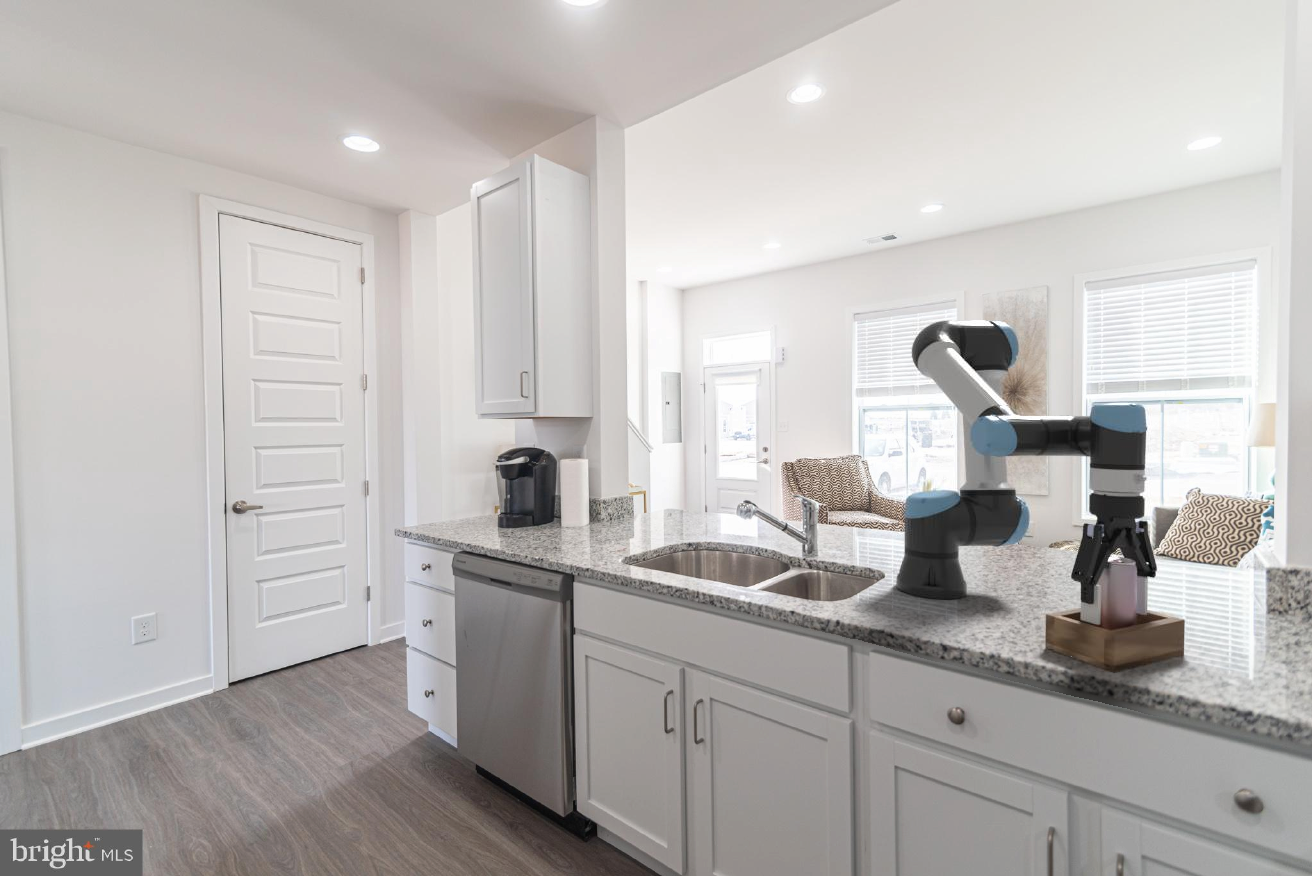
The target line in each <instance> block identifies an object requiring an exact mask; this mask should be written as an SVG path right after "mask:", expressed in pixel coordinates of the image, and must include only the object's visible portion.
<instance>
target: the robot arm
mask: <svg viewBox="0 0 1312 876" xmlns="http://www.w3.org/2000/svg"><path fill="white" fill-rule="evenodd" d="M1019 349H1020V346H1019V340H1018V337H1017V334H1016V332H1015V331H1014V329H1013V327H1011V326H1010V325H1009V324H1007V323H1006V322H1003V321H996V320H993V321H992V320H990V319H988V320H987V319H985V320H941V321H936V322H933V323H931V324H929V325H927V326H925V327H924V328H923V329H921V330H920V332H919V333H918V334H917V336H916V337H915V339H914V340H913V343H912V346H911V357H912V359H911V360H912V361H913V364H914V365H915V367H916V368H917V370H918V371H919V372H920V374H921V375H922V376H924V377H926V378H928V379H929V378H930V379H932V380H933V381H934V383H935V384H936V386H938V388H939V389H940V390H941V391H942V393H944V394H945V396H946V397H947V398H948V399H949V401H951V403H952V404H953V405H954V407H955V408H956V409H957V410H958V411H959V412H960V413H961V415H962V426H963V445H964V464H965V465H964V466H965V479H966V480H965V481H966V482H965V483H964V484H963V485H962V486H961V487H960V488H959V492H958V491H956V490H949V489H945V490H944V489H943V490H942V489H940V490H938V489H936V490H925V491H919V492H915V493H912V494H910V495H908V496H907V497H906V499H905V502H904V503H905V504H904V512H903V516H904V552H903V553H904V555H903V558H902V562H901V565H900V567H899V573H897V575H896V580H895V581H896V582H895V583H896V584H895V585H896V588H897V590H899V591H900V592H901V591H902V592H904V593H905V594H909V595H912V596H916V597H921V598H922V597H923V598H929V599H936V600H937V599H938V600H939V599H940V600H942V599H943V600H952V599H954V600H955V599H960V598H964V597H966V596H967V595H968V590H967V589H968V588H967V587H968V586H967V582H966V581H965V579H964V575H963V574H964V573H963V569H962V567H961V563H960V561H959V552H960V549H959V547H996V548H997V547H998V548H999V547H1002V546H1003V547H1004V546H1013V545H1016V544H1018V543H1019V542H1021V541H1022V539H1023V538H1024V537H1025V535H1026V533H1027V532H1028V530H1029V527H1030V509H1029V507H1028V506H1027V505H1026V504H1027V503H1026V501H1025V500H1024V498H1021V497H1019V496H1017V493H1016V492H1017V491H1016V490H1017V489H1016V487H1014V486H1013V485H1012V484H1010V483H1009V481H1008V470H1007V469H1008V468H1007V467H1008V466H1007V457H1023V456H1024V457H1027V456H1028V457H1029V456H1030V457H1032V456H1033V457H1034V456H1035V457H1044V456H1045V457H1049V456H1050V457H1051V456H1053V457H1058V456H1059V457H1065V456H1066V457H1069V456H1070V457H1076V456H1077V457H1088V458H1089V457H1090V458H1089V459H1090V460H1089V461H1090V462H1089V481H1088V482H1089V483H1088V485H1089V489H1090V490H1091V491H1092V493H1090V494H1089V500H1088V501H1089V502H1088V504H1089V506H1088V507H1089V508H1088V511H1089V513H1090V514H1091V515H1094V516H1095V517H1096V521H1095V522H1096V523H1095V524H1094V523H1087V522H1085V523H1084V524H1083V526H1082V537H1081V540H1080V543H1079V546H1078V551H1077V554H1076V557H1075V561H1074V564H1073V568H1072V571H1071V574H1070V578H1071V580H1073V581H1074V582H1076V583H1080V608H1081V620H1083V621H1086V622H1090V623H1093V624H1097V625H1099V624H1100V617H1101V585H1097V583H1098V581H1099V579H1100V577H1101V574H1102V572H1103V570H1104V568H1105V566H1106V564H1107V562H1108V560H1109V558H1110V556H1112V554H1113V553H1116V552H1117V550H1118V549H1119V550H1120V552H1121V554H1122V557H1123V558H1128V559H1132V560H1134V561H1135V562H1136V563H1135V565H1136V567H1137V612H1136V613H1138V614H1142V615H1147V610H1148V593H1149V592H1148V591H1149V585H1148V584H1149V578H1152V579H1154V578H1156V576H1157V570H1158V567H1157V562H1156V559H1155V554H1154V551H1153V547H1152V546H1153V545H1152V543H1151V539H1150V535H1149V522H1148V521H1147V520H1144V519H1142V518H1143V517H1145V512H1146V511H1145V507H1146V506H1145V504H1146V503H1145V501H1146V498H1145V497H1144V496H1143V495H1140V494H1143V493H1144V492H1145V488H1146V487H1145V486H1146V485H1145V483H1146V482H1145V481H1147V480H1148V479H1147V476H1146V471H1145V469H1146V455H1147V454H1146V451H1147V449H1146V448H1147V447H1146V444H1147V432H1148V426H1147V419H1146V417H1147V416H1146V408H1145V407H1144V406H1143V404H1140V403H1102V404H1101V403H1098V404H1093V406H1092V407H1091V409H1090V414H1089V415H1043V416H1042V415H1041V416H1040V415H1021V414H1020V415H1019V414H1018V413H1017V412H1016V410H1015V409H1013V408H1012V407H1011V406H1010V405H1009V404H1008V403H1007V402H1006V401H1005V400H1004V398H1003V387H1002V386H1003V385H1002V381H1003V380H1004V379H1005V378H1006V377H1007V376H1008V375H1009V369H1010V368H1011V367H1013V366H1014V364H1015V363H1016V361H1017V359H1018V358H1017V356H1019Z"/></svg>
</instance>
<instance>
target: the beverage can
mask: <svg viewBox="0 0 1312 876" xmlns="http://www.w3.org/2000/svg"><path fill="white" fill-rule="evenodd" d="M1135 563H1136V562H1135V561H1134V560H1132V559H1128V558H1124V556H1116V555H1110V558H1109V560H1108V562H1107V564H1106V566H1105V568H1104V570H1103V572H1102V574H1101V577H1100V579H1099V581H1098V583H1097V585H1101V617H1100V624H1099V625H1097V624H1093V626H1096V627H1100V628H1103V629H1107V630H1110V631H1111V630H1116V629H1121V628H1125V627H1130V626H1135V625H1136V612H1137V567H1136V565H1135Z"/></svg>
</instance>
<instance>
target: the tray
mask: <svg viewBox="0 0 1312 876" xmlns="http://www.w3.org/2000/svg"><path fill="white" fill-rule="evenodd" d="M1185 622H1186V620H1185V619H1184V618H1179V617H1175V616H1172V615H1168V614H1164V613H1159V612H1156V611H1153V610H1148V609H1147V615H1142V614H1138V613H1136V625H1135V626H1130V627H1125V628H1121V629H1116V630H1111V631H1110V630H1107V629H1103V628H1100V627H1096V626H1093V623H1090V622H1086V621H1083V620H1081V607H1077V608H1072V609H1066V610H1062V611H1056V612H1050V613H1047V614H1046V613H1045V638H1044V639H1045V640H1044V641H1045V642H1044V643H1045V644H1044V645H1045V646H1044V647H1045V649H1047V650H1049V649H1051V650H1050V651H1052V650H1053V652H1055V651H1057V652H1056V653H1059V654H1061V653H1062V654H1061V655H1064V656H1066V655H1068V656H1067V657H1069V656H1072V657H1073V659H1075V658H1077V659H1076V660H1078V659H1079V661H1080V660H1083V661H1084V663H1086V662H1087V663H1086V664H1089V665H1091V666H1094V665H1095V667H1097V668H1099V669H1102V670H1106V671H1108V672H1111V673H1117V672H1121V671H1125V670H1129V669H1133V668H1137V667H1140V666H1141V667H1142V666H1145V665H1149V664H1152V662H1153V663H1156V662H1161V661H1164V660H1168V658H1169V659H1171V658H1176V657H1180V656H1183V655H1185V627H1186V626H1185V625H1186V623H1185ZM1072 657H1071V658H1072ZM1160 660H1161V661H1160ZM1083 661H1082V662H1083Z"/></svg>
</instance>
